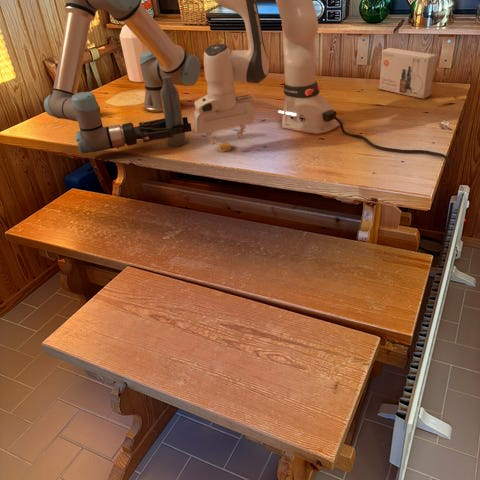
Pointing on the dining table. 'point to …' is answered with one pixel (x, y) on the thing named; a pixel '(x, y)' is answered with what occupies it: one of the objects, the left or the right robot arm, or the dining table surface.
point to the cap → (225, 146)
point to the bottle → (172, 110)
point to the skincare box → (407, 72)
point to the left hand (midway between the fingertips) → (189, 123)
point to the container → (132, 53)
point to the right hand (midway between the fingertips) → (227, 140)
